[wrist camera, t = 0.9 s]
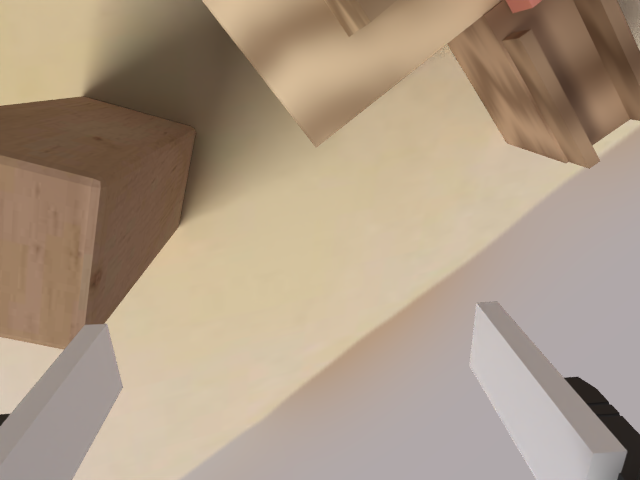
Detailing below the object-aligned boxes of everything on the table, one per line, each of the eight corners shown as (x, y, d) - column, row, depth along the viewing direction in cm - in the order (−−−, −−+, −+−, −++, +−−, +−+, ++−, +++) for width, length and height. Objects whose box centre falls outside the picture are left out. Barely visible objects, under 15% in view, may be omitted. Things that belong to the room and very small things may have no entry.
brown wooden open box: (220, 11, 35) (185, -16, 24) (420, -172, 32) (487, -304, 20) (387, 229, 43) (419, 284, 32) (565, 101, 39) (670, 113, 28)
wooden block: (197, 127, 38) (103, 179, 20) (178, 230, 42) (82, 357, 23) (80, 94, 37) (-141, 117, 18) (70, 203, 40) (-126, 316, 22)
